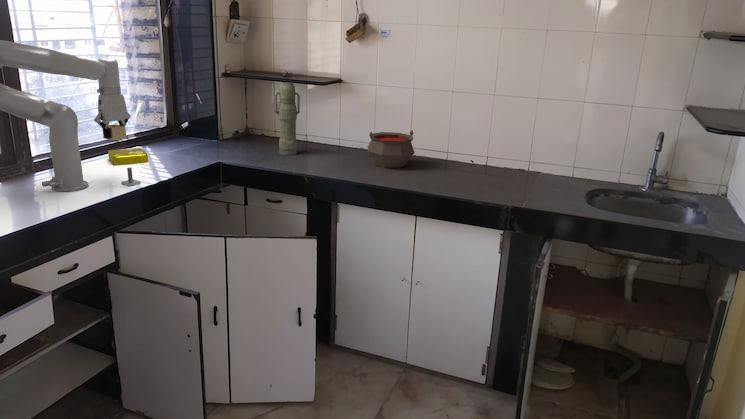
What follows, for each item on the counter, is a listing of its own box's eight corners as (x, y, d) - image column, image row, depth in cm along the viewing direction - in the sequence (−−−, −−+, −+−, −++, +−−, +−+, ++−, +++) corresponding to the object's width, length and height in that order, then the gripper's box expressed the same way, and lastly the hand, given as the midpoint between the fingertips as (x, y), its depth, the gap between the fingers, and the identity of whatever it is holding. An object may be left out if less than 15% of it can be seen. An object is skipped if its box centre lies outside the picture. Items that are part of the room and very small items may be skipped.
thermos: (301, 154, 281) (301, 83, 270) (277, 155, 278) (276, 83, 267) (298, 151, 289) (298, 81, 278) (275, 151, 286) (274, 81, 275)
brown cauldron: (401, 157, 284) (403, 125, 279) (423, 168, 264) (426, 134, 258) (357, 160, 275) (358, 127, 270) (376, 172, 255) (378, 136, 249)
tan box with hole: (113, 140, 220) (111, 127, 219) (103, 138, 223) (102, 126, 221) (126, 138, 225) (125, 125, 224) (116, 136, 228) (115, 124, 226)
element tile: (142, 156, 268) (141, 146, 266) (149, 163, 256) (148, 153, 254) (108, 159, 260) (107, 149, 259) (113, 166, 248) (112, 156, 247)
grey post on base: (129, 186, 220) (127, 170, 217) (121, 183, 222) (119, 168, 220) (140, 183, 224) (138, 167, 221) (132, 181, 226) (131, 165, 224)
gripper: (95, 93, 209) (101, 141, 215) (135, 90, 223) (139, 135, 229) (83, 91, 213) (89, 138, 218) (123, 88, 227) (127, 132, 233)
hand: (114, 136), depth 224 cm, fingers closed on tan box with hole, 6 cm apart
